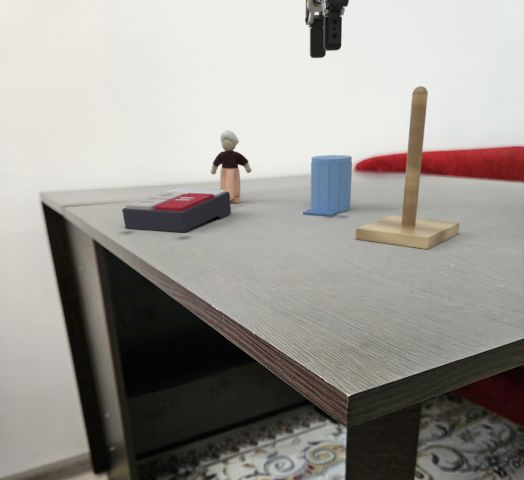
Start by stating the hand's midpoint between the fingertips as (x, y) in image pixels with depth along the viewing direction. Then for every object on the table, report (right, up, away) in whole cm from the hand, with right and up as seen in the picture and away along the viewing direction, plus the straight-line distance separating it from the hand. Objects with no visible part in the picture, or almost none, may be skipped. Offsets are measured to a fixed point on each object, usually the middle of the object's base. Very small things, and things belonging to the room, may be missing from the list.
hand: (324, 54), depth 72 cm
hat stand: (+11, -26, -2) cm, 28 cm away
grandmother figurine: (-14, -13, +27) cm, 34 cm away
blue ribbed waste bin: (+3, -17, +17) cm, 24 cm away
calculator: (-22, -20, +12) cm, 32 cm away
